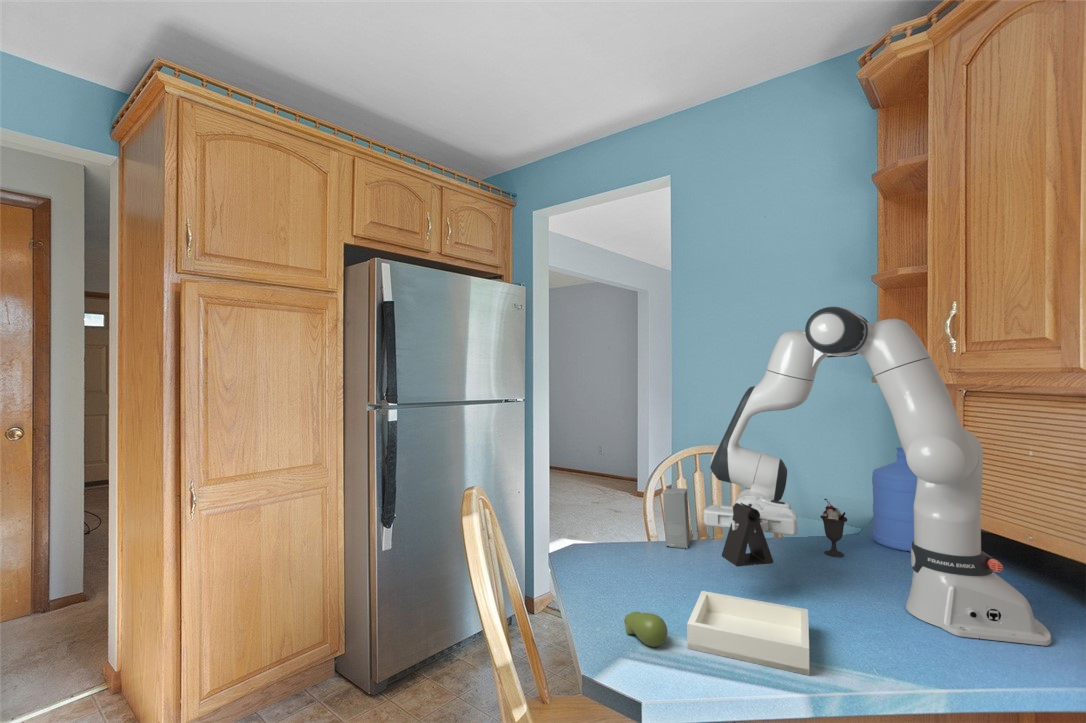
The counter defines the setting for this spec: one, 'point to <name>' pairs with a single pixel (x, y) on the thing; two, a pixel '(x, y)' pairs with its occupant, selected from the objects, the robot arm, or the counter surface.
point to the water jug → (894, 504)
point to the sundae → (833, 528)
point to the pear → (646, 628)
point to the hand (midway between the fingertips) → (746, 528)
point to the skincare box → (676, 517)
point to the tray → (750, 631)
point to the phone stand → (746, 539)
